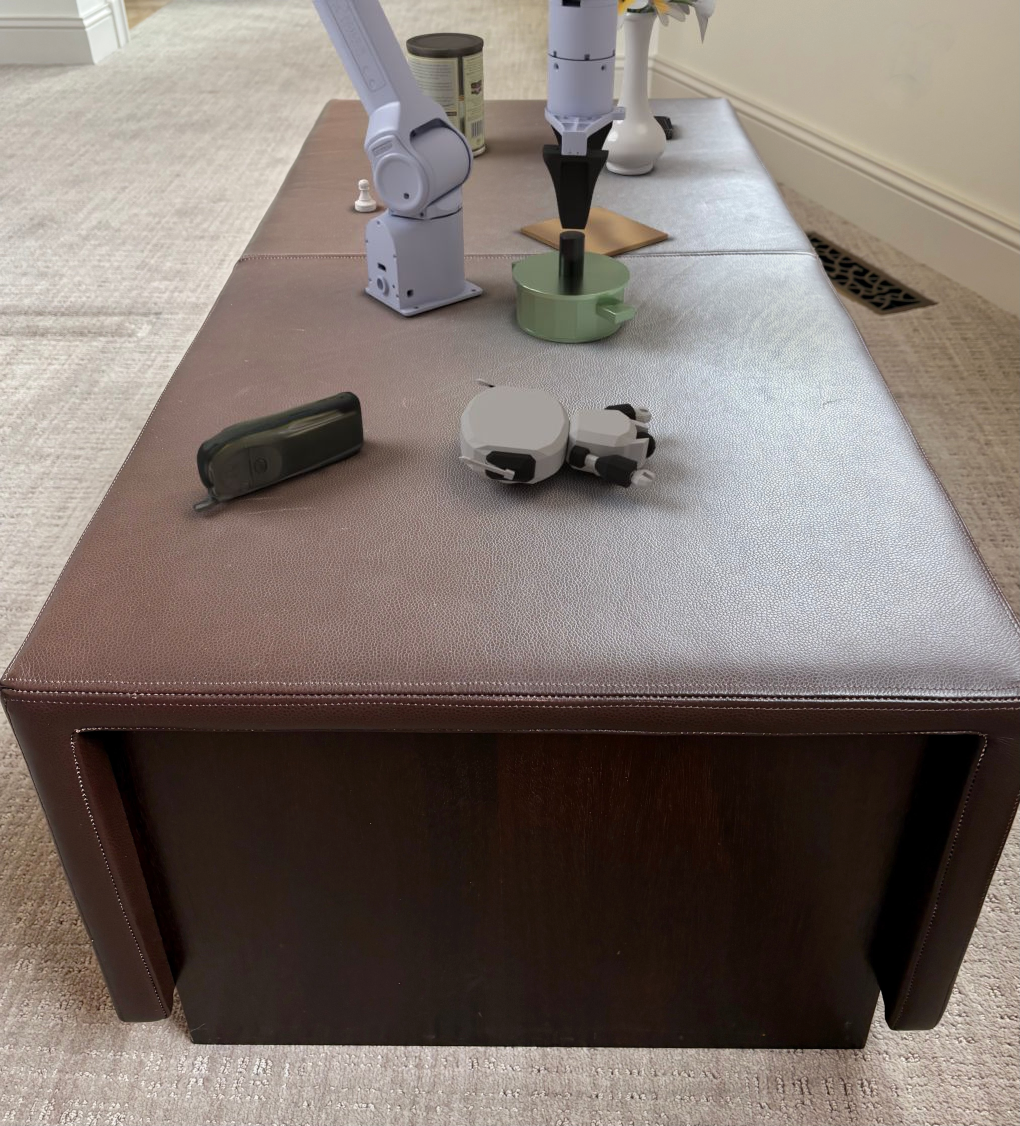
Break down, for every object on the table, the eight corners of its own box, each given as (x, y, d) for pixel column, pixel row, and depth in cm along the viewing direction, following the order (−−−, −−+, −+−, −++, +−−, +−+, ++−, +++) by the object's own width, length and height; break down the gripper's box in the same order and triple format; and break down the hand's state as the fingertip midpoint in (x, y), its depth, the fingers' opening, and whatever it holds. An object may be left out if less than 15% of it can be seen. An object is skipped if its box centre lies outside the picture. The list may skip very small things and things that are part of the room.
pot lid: (562, 317, 96) (564, 267, 93) (488, 279, 103) (488, 231, 100) (653, 287, 101) (657, 238, 98) (577, 252, 108) (579, 206, 106)
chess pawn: (351, 208, 130) (348, 179, 128) (369, 203, 132) (367, 175, 130) (362, 213, 129) (359, 184, 127) (380, 209, 130) (378, 180, 128)
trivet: (588, 263, 116) (588, 258, 116) (520, 232, 124) (520, 227, 123) (667, 239, 122) (668, 234, 121) (598, 211, 129) (598, 206, 129)
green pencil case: (346, 382, 84) (170, 443, 76) (368, 396, 82) (190, 459, 74) (350, 437, 87) (181, 502, 79) (372, 452, 85) (201, 519, 77)
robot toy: (648, 437, 88) (467, 419, 88) (656, 388, 85) (469, 370, 85) (652, 522, 78) (449, 502, 78) (662, 470, 75) (451, 449, 76)
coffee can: (418, 138, 154) (413, 31, 146) (489, 140, 153) (487, 32, 145) (406, 159, 146) (399, 47, 138) (480, 161, 145) (478, 49, 137)
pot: (581, 363, 97) (583, 318, 94) (480, 307, 107) (479, 264, 104) (662, 333, 102) (666, 289, 99) (559, 282, 112) (560, 241, 109)
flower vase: (709, 183, 138) (734, -37, 123) (567, 183, 138) (574, -37, 123) (695, 153, 148) (716, -53, 133) (563, 153, 148) (569, -53, 133)
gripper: (627, 74, 84) (617, 243, 92) (631, 36, 95) (622, 189, 104) (537, 72, 85) (536, 240, 93) (552, 34, 96) (550, 187, 104)
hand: (576, 213), depth 98 cm, fingers open, 7 cm apart
